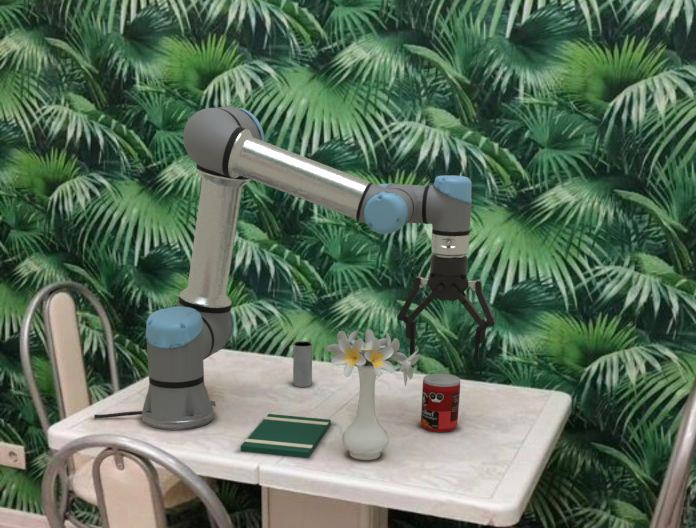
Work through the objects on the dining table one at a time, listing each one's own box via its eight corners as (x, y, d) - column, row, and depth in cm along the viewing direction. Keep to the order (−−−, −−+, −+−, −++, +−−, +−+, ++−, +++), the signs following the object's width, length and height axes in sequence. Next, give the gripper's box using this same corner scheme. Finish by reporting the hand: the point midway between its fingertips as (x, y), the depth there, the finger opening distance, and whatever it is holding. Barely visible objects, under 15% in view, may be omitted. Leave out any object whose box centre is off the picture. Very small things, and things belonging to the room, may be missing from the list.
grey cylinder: (304, 380, 236) (304, 340, 232) (315, 385, 233) (316, 344, 229) (289, 383, 233) (289, 343, 230) (300, 388, 230) (300, 347, 226)
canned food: (415, 422, 210) (417, 374, 206) (447, 419, 213) (451, 371, 208) (429, 434, 203) (432, 385, 199) (463, 430, 206) (466, 382, 202)
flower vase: (411, 470, 185) (418, 344, 175) (317, 462, 187) (319, 338, 177) (416, 446, 197) (423, 327, 187) (328, 439, 199) (330, 322, 189)
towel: (240, 451, 191) (240, 445, 191) (268, 418, 210) (268, 413, 209) (308, 458, 189) (308, 451, 188) (330, 424, 207) (330, 419, 207)
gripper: (386, 254, 193) (383, 356, 201) (510, 261, 189) (502, 364, 196) (392, 248, 200) (389, 346, 208) (512, 254, 196) (504, 355, 203)
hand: (444, 355), depth 202 cm, fingers open, 13 cm apart
